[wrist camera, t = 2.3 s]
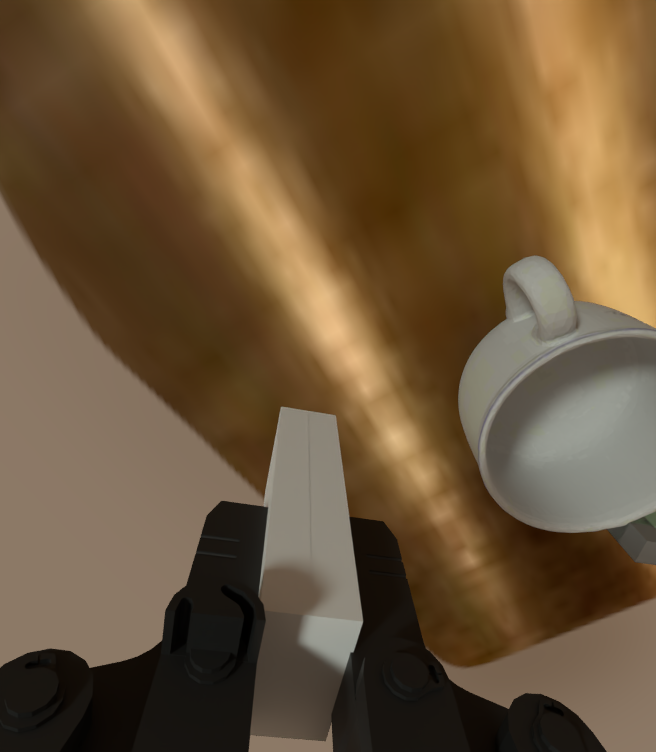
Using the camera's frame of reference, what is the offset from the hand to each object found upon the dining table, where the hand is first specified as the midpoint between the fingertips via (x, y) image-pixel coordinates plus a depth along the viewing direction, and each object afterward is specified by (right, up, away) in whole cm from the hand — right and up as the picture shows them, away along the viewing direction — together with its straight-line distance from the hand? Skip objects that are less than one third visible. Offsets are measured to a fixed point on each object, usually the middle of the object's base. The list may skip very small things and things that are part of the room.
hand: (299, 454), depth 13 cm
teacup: (+12, +4, +15) cm, 20 cm away
